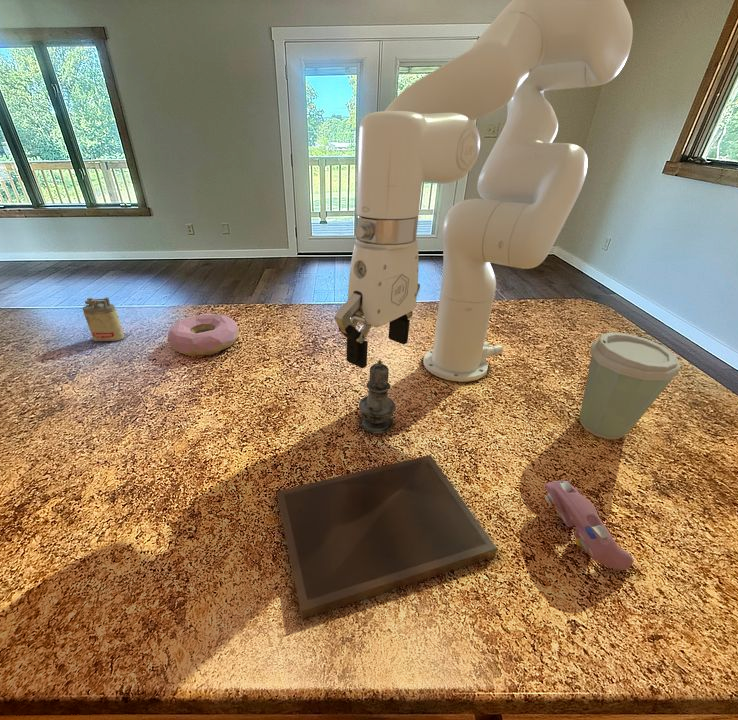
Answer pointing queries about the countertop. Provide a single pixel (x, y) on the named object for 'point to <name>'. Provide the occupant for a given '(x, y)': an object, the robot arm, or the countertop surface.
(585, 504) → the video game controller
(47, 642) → the countertop surface
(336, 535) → the board
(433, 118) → the robot arm
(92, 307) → the lighter
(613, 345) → the disposable coffee cup
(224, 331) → the donut
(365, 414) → the stone chess piece
